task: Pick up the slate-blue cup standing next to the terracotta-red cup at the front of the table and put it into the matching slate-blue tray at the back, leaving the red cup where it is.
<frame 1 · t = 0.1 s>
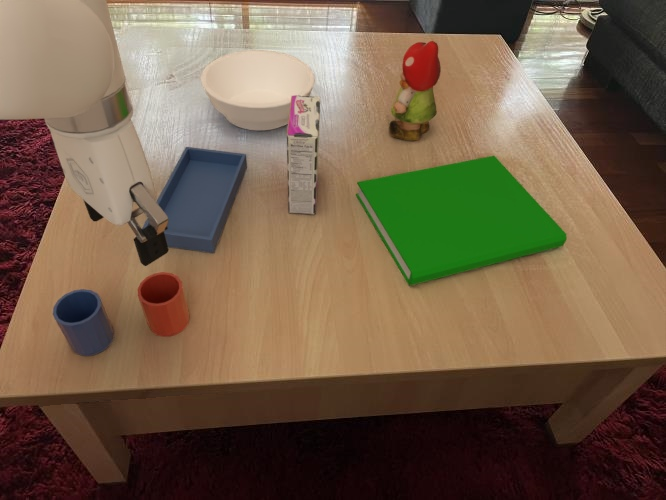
hand: (129, 235, 59), 18 cm above the table, tool pointing down, fingers open, 9 cm apart
book: (454, 221, 91), on the table
blue tray: (200, 202, 90), on the table
blue cup: (92, 338, 71), on the table
bowl: (260, 113, 110), on the table
candy bar box: (302, 194, 93), on the table
figurine: (406, 131, 109), on the table
red cup: (169, 320, 73), on the table
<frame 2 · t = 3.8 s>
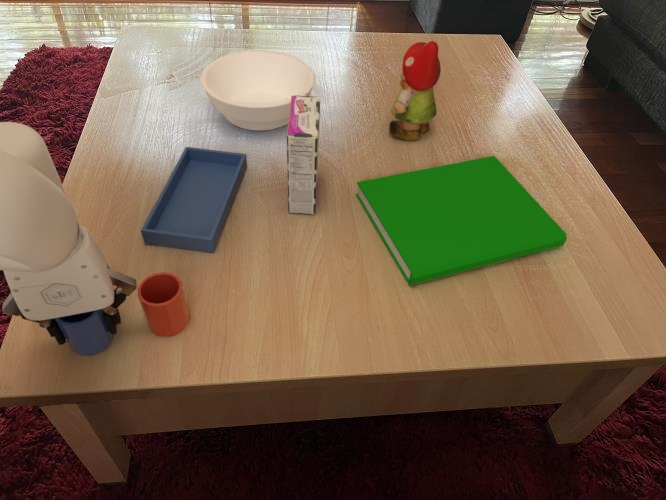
hand: (88, 329, 69), 2 cm above the table, tool pointing down, fingers closed on blue cup, 5 cm apart
blue cup: (92, 338, 71), on the table, touching gripper
everything else where it was.
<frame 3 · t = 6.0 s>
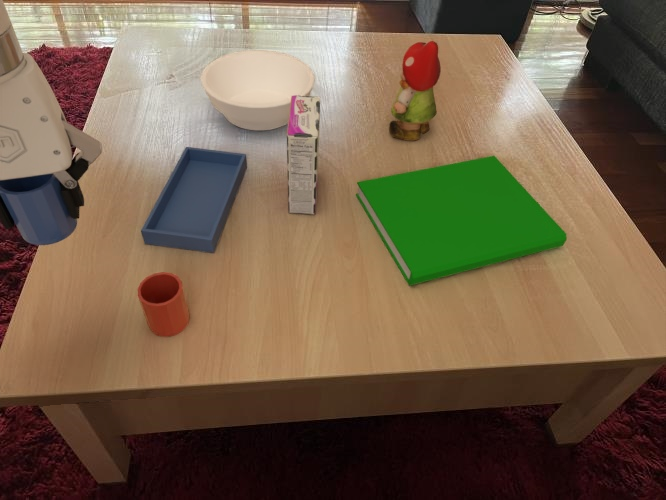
hand: (43, 213, 56), 22 cm above the table, tool pointing down, fingers closed on blue cup, 5 cm apart
blue cup: (49, 227, 57), point 20 cm above the table, touching gripper
everything else where it was.
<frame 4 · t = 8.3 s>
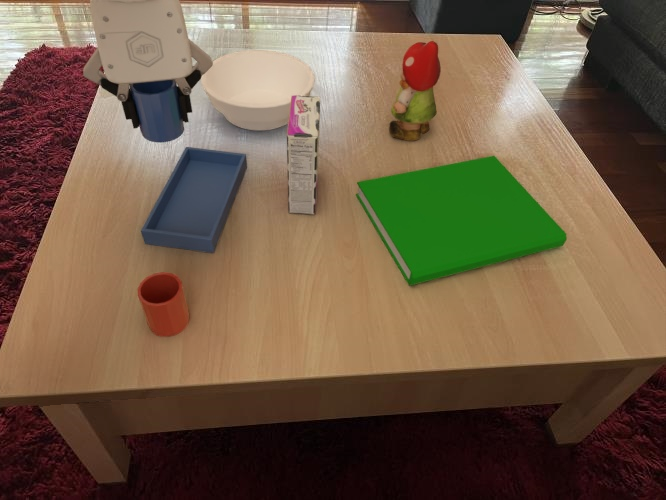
hand: (160, 118, 70), 21 cm above the table, tool pointing down, fingers closed on blue cup, 5 cm apart
blue cup: (163, 130, 71), point 20 cm above the table, touching gripper
everything else where it was.
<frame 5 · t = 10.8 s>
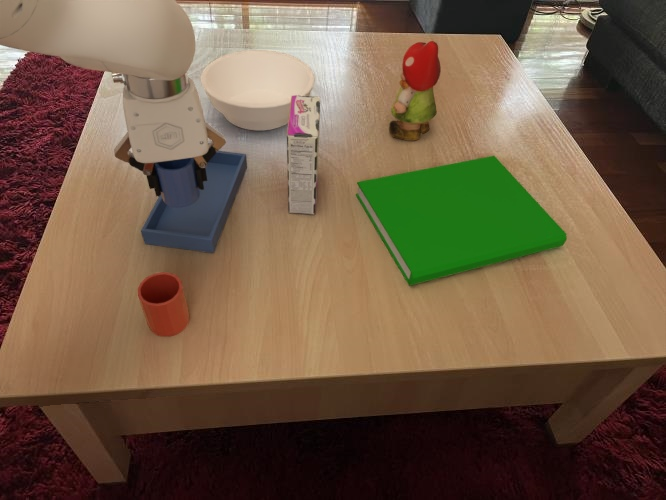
hand: (179, 186, 79), 9 cm above the table, tool pointing down, fingers closed on blue cup, 5 cm apart
blue cup: (181, 195, 81), point 7 cm above the table, touching gripper
everything else where it was.
when the fingers open (3 cm above the table, at t = 13.5 s): blue cup stays where it is, resting on blue tray.
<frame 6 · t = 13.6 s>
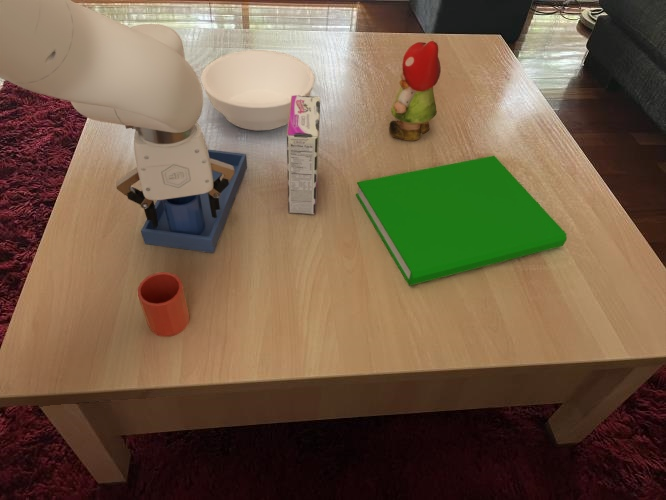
hand: (184, 216, 83), 3 cm above the table, tool pointing down, fingers open, 8 cm apart
blue cup: (187, 226, 85), resting on blue tray
everything else where it was.
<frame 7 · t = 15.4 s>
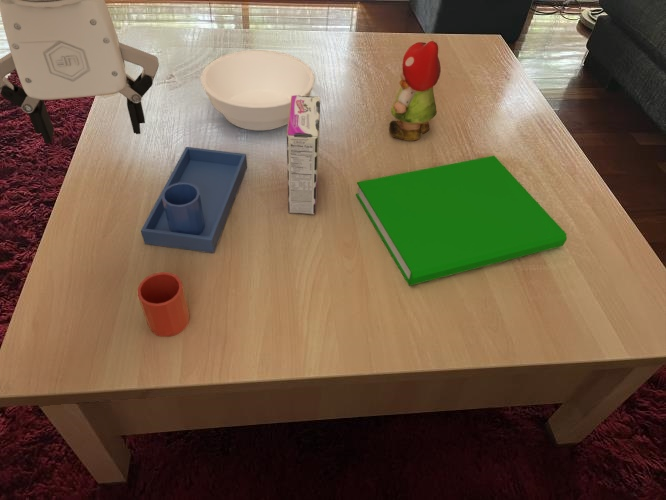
hand: (94, 132, 62), 24 cm above the table, tool pointing down, fingers open, 9 cm apart
nothing on the table moved.
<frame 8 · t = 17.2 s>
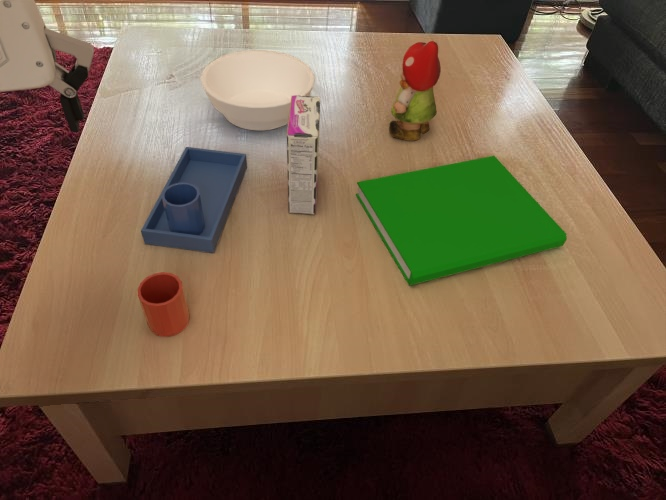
hand: (26, 130, 55), 28 cm above the table, tool pointing down, fingers open, 9 cm apart
nothing on the table moved.
at the end: blue cup inside the target area in the blue tray (6.6 cm from its centre), point 0.5 cm above the blue tray's base; blue cup tilted 0°; red cup moved 0.0 cm from its start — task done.
